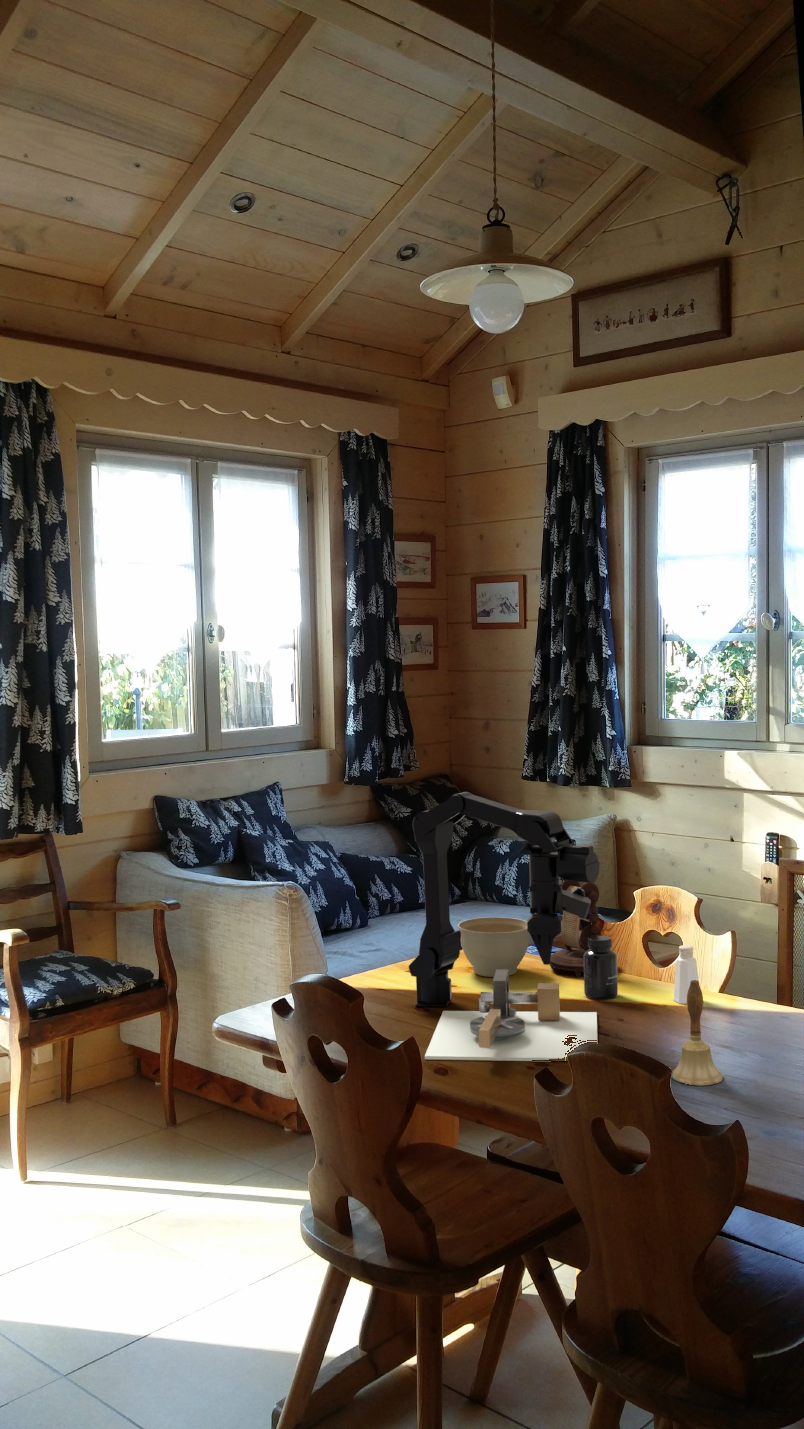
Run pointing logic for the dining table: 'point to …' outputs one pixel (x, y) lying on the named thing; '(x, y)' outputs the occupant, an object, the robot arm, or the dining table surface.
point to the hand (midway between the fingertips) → (547, 959)
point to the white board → (530, 1045)
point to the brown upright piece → (576, 931)
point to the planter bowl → (494, 943)
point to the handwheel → (496, 1027)
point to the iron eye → (502, 992)
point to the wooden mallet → (530, 1000)
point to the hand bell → (696, 1047)
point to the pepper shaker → (684, 973)
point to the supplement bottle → (600, 969)
